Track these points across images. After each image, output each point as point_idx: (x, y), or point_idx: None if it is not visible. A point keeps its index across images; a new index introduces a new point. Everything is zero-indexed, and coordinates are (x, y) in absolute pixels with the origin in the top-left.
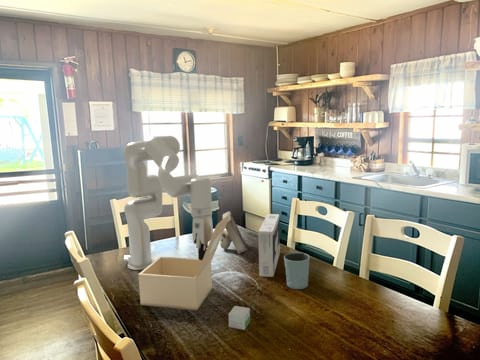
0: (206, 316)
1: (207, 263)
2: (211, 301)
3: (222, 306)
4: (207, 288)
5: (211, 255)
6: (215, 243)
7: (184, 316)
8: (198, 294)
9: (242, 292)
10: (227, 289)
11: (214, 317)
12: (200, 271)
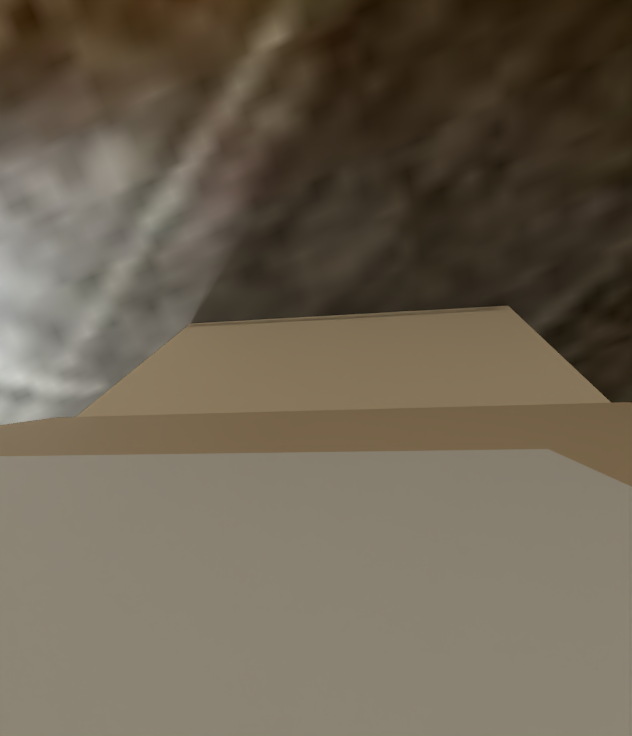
0: (585, 209)
1: (260, 416)
2: (368, 258)
3: (424, 146)
4: (279, 332)
5: (153, 430)
6: (63, 514)
7: (592, 351)
8: (488, 337)
9: (167, 66)
10: (167, 211)
11: (598, 142)
12: (570, 409)
